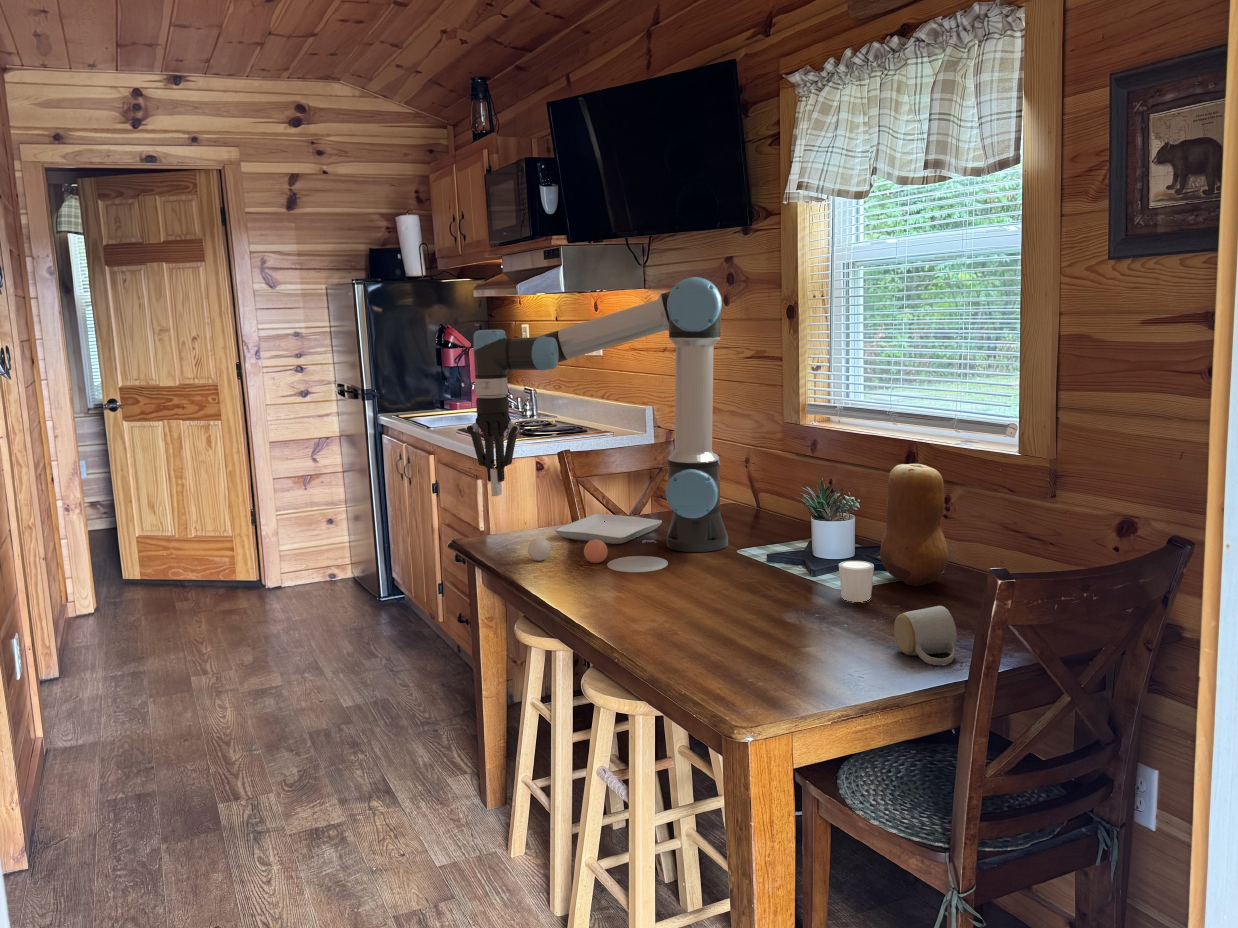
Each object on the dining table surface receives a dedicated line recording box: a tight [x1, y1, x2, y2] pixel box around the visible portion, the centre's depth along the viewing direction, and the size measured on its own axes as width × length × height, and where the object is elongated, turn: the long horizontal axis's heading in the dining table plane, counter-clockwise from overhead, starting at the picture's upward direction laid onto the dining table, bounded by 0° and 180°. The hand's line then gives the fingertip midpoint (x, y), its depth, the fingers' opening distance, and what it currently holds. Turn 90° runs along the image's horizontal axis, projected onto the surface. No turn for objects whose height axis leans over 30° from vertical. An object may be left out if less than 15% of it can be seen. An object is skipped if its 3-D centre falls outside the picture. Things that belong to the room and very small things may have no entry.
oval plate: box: [607, 555, 669, 573], centre depth 231 cm, size 14×14×1 cm
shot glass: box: [838, 560, 875, 603], centre depth 198 cm, size 7×7×7 cm
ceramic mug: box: [893, 605, 958, 666], centre depth 165 cm, size 11×8×8 cm
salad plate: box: [554, 513, 663, 545], centre depth 261 cm, size 21×21×3 cm
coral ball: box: [583, 539, 609, 564], centre depth 233 cm, size 6×6×6 cm
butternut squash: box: [879, 463, 949, 587], centre depth 206 cm, size 14×13×25 cm
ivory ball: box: [527, 537, 552, 562], centre depth 237 cm, size 6×6×6 cm
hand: (496, 495), depth 238 cm, fingers closed
